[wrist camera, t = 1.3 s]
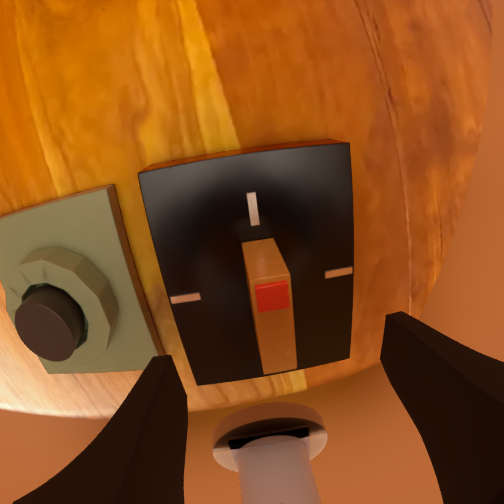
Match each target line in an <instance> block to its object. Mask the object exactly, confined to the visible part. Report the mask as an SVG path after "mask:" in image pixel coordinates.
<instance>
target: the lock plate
mask: <svg viewBox="0 0 504 504" xmlns="http://www.w3.org/2000/svg"><path fill="white" fill-rule="evenodd" d="M138 179H139V184H140V189H141V193H142V198H143V202H144V207H145V211H146V215H147V220H148V224H149V228H150V232H151V236H152V240H153V244H154V248H155V252H156V256H157V260H158V263H159V267H160V271H161V274H162V278H163V281H164V285H165V288H166V292H167V295H168V299H169V302H170V306H171V309H172V312H173V315H174V319H175V322H176V325H177V328H178V331H179V334H180V338H181V341H182V344H183V347H184V350H185V353H186V356H187V358H188V361H189V364H190V367H191V370H192V373H193V376H194V378H195V381H196V384H197V386H200V385H208V384H216V383H224V382H231V381H238V380H245V379H251V378H257V377H263V376H269V375H275V374H280V373H285V372H290V371H295V370H300V369H305V368H310V367H314V366H319V365H323V364H328V363H332V362H336V361H340V360H344V359H348V358H350V345H351V330H352V310H353V279H354V222H353V191H352V171H351V156H350V143H349V142H343V141H338V140H332V139H324V140H313V141H302V142H292V143H283V144H274V145H266V146H258V147H251V148H244V149H237V150H230V151H223V152H217V153H211V154H205V155H199V156H194V157H188V158H183V159H178V160H173V161H168V162H163V163H158V164H153V165H150V166H148V167H146V168H145V169H143V170H142V171H140V172H139V173H138ZM269 238H273V239H274V241H275V243H276V245H277V247H278V249H279V252H280V254H281V256H282V258H283V260H284V262H285V264H286V266H287V269H288V271H289V273H290V278H291V290H292V302H293V315H294V329H295V343H296V358H297V369H292V370H287V371H282V372H277V373H271V374H265V375H264V373H263V368H262V363H261V358H260V353H259V348H258V342H257V337H256V332H255V327H254V321H253V314H252V308H251V302H250V295H249V289H248V283H247V276H246V270H245V264H244V257H243V251H242V243H244V242H250V241H257V240H263V239H269Z"/></svg>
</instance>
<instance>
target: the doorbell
mask: <svg viewBox="0 0 504 504" xmlns="http://www.w3.org/2000/svg"><path fill="white" fill-rule="evenodd" d="M0 280H1V283H2V285H3V287H4V290H5V292H6V309H7V312H8V314H9V316H10V318H11V320H12V322H13V324H14V326H15V313H16V310H17V309H18V307H19V306H20V305H21V304H22V303H23V301H24V300H25V299H26V298H27V297H28V296H29V295H30V293H31V292H32V291H33V290H34V289H36V288H37V287H40V286H46V285H47V286H54V287H57V288H59V289H61V290H63V291H64V292H66V293H67V294H69V295H70V296H71V297H72V298H73V299H74V300H75V301H76V303H77V304H78V305H79V307H80V309H81V311H82V313H83V316H84V320H85V329H84V332H83V335H82V337H81V338H80V340H79V342H78V344H77V346H76V348H75V350H74V352H73V354H72V356H71V357H70V358H68V359H67V360H64V361H60V362H54V361H49V360H46V359H43V358H41V357H39V356H38V355H37V356H38V358H39V359H40V361H41V363H42V364H43V366H44V368H45V369H46V371H47V373H48V374H69V373H102V372H121V371H136V370H144V369H145V368H146V366H147V365H148V363H149V362H150V360H151V359H152V357H153V356H162V355H165V353H164V351H163V348H162V345H161V343H160V340H159V337H158V335H157V332H156V329H155V326H154V323H153V321H152V318H151V315H150V312H149V309H148V306H147V303H146V300H145V297H144V294H143V291H142V288H141V284H140V281H139V278H138V275H137V271H136V268H135V265H134V261H133V258H132V254H131V251H130V247H129V244H128V240H127V236H126V233H125V229H124V225H123V221H122V217H121V213H120V209H119V205H118V201H117V197H116V192H115V188H114V185H113V184H110V185H106V186H102V187H98V188H94V189H90V190H87V191H83V192H79V193H75V194H72V195H68V196H64V197H61V198H57V199H54V200H51V201H47V202H44V203H40V204H37V205H34V206H31V207H28V208H24V209H21V210H18V211H15V212H12V213H9V214H6V215H3V216H0ZM15 328H16V327H15Z"/></svg>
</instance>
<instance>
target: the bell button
mask: <svg viewBox="0 0 504 504" xmlns="http://www.w3.org/2000/svg"><path fill="white" fill-rule="evenodd" d="M15 327H16V330H17V333H18V335H19V337H20V338H21V340H22V341H23V343H24V344H25V345H26V346H27V347H28V348H29V349H30V350H31V351H32V352H33V353H35V354H36V355H38V356H39V357H41V358H43V359H46V360H49V361H54V362H60V361H64V360H67V359H68V358H70V357H71V356H72V354H73V352H74V350H75V348H76V346H77V344H78V342H79V340H80V338H81V337H82V335H83V332H84V329H85V320H84V316H83V313H82V311H81V309H80V307H79V305H78V304H77V303H76V301H75V300H74V299H73V298H72V297H71V296H70V295H69V294H67V293H66V292H64V291H63V290H61V289H59V288H57V287H54V286H47V285H46V286H40V287H37V288H36V289H34V290H33V291H32V292H31V293H30V295H29V296H28V297H27V298H26V299H25V300H24V301H23V303H22V304H21V305H20V306H19V307H18V309H17V310H16V313H15Z"/></svg>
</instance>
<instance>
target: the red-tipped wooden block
mask: <svg viewBox="0 0 504 504" xmlns="http://www.w3.org/2000/svg"><path fill="white" fill-rule="evenodd" d="M242 251H243V257H244V264H245V270H246V276H247V283H248V289H249V295H250V302H251V308H252V314H253V321H254V327H255V332H256V337H257V342H258V348H259V353H260V358H261V363H262V368H263V373H264V375H265V374H271V373H277V372H282V371H287V370H292V369H297V358H296V343H295V329H294V315H293V302H292V290H291V278H290V273H289V271H288V269H287V266H286V264H285V262H284V260H283V258H282V256H281V254H280V252H279V249H278V247H277V245H276V243H275V241H274V239H273V238H269V239H263V240H257V241H250V242H244V243H242Z"/></svg>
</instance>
